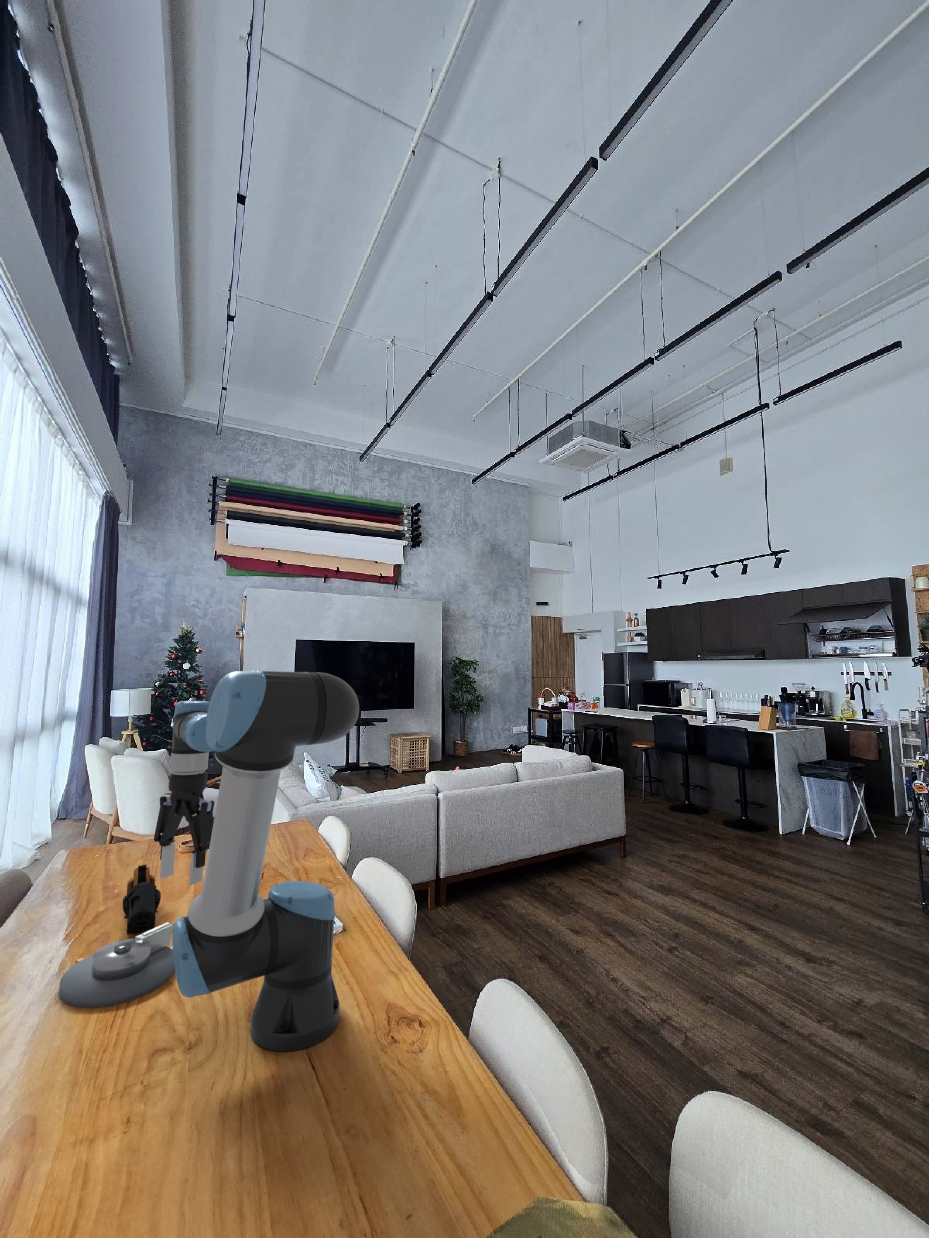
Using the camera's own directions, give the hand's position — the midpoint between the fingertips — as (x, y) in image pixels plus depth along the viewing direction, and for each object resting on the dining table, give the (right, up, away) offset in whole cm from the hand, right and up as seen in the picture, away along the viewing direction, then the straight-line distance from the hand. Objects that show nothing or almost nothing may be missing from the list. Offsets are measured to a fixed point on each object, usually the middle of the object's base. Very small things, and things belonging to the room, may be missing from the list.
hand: (180, 879), depth 118 cm
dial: (-7, -14, -5) cm, 17 cm away
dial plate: (-8, -16, -6) cm, 20 cm away
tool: (-19, -19, +17) cm, 32 cm away
